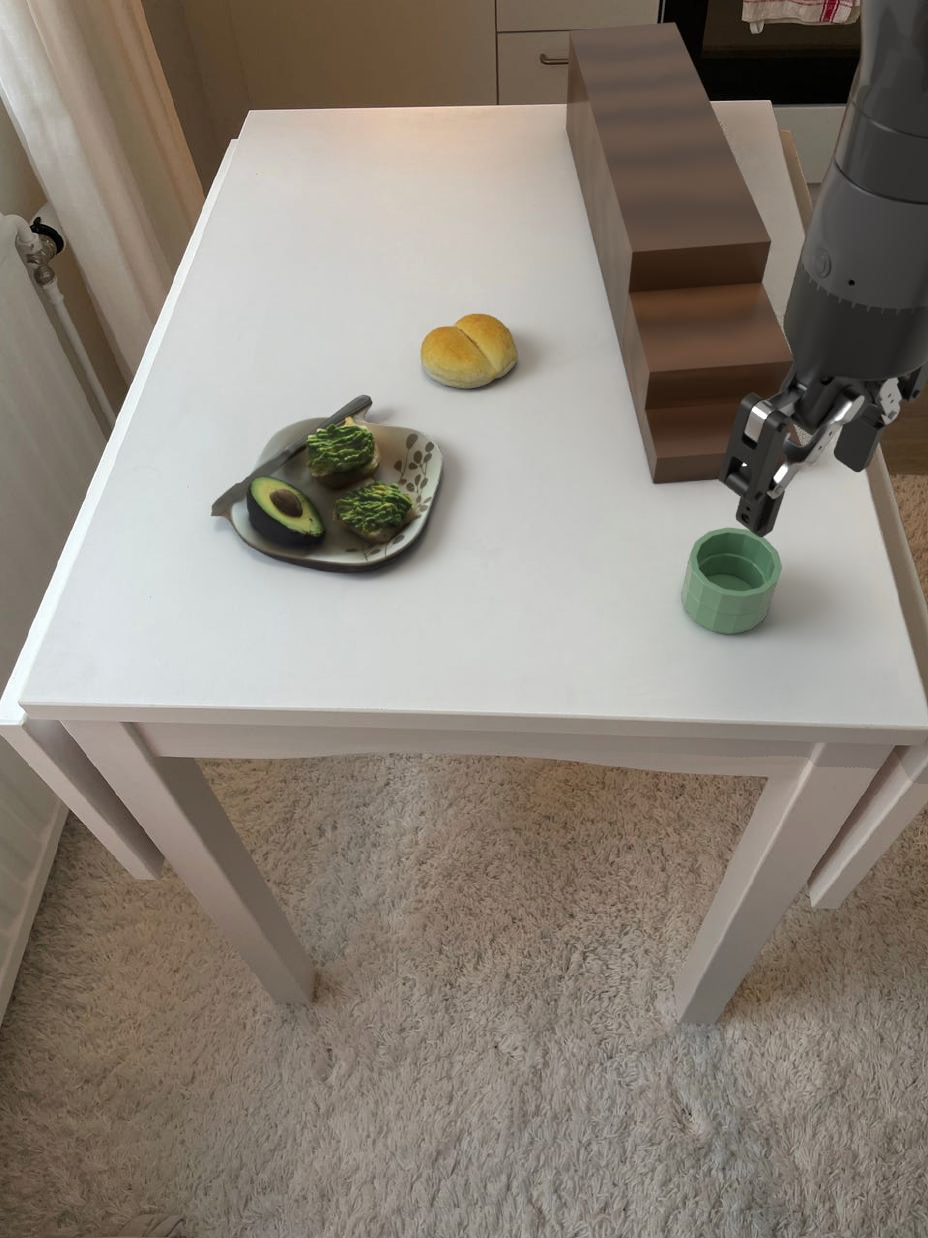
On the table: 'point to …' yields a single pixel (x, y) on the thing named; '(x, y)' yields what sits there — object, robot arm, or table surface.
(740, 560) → the cup
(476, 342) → the bread roll
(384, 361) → the table surface
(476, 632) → the table surface
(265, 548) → the salad plate
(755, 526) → the robot arm
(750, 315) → the wooden stair steps
